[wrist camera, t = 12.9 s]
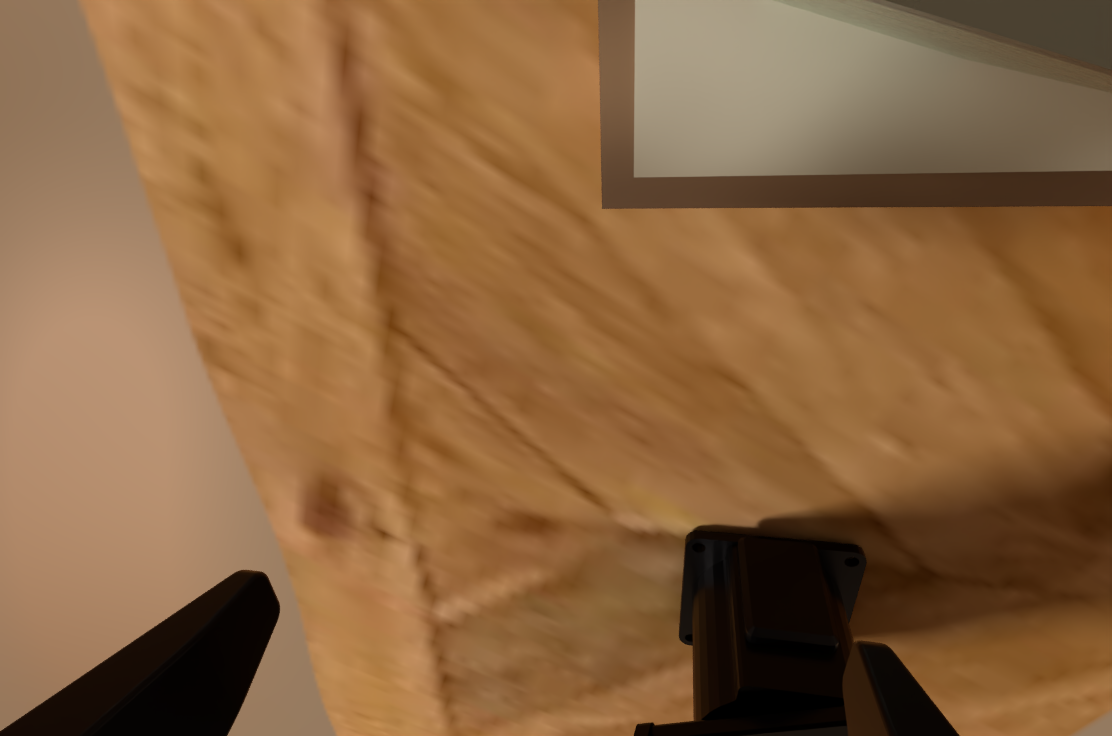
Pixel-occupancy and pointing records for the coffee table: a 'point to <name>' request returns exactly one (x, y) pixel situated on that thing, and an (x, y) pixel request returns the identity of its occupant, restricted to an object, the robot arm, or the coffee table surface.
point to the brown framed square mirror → (828, 117)
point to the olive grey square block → (995, 32)
